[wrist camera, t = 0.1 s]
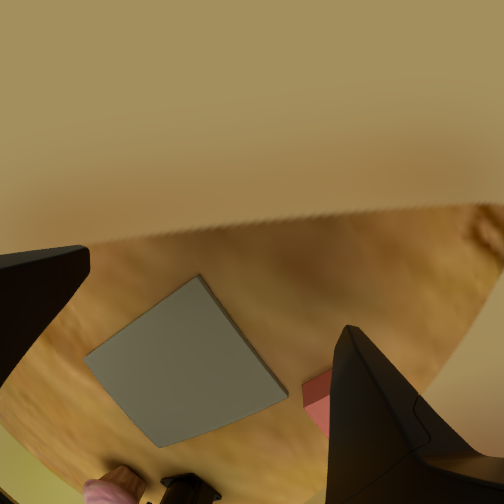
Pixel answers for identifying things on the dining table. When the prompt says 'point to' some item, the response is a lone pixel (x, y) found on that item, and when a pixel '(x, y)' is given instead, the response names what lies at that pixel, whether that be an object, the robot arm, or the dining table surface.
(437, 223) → the dining table surface
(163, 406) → the mat
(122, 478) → the cupcake
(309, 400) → the red block
